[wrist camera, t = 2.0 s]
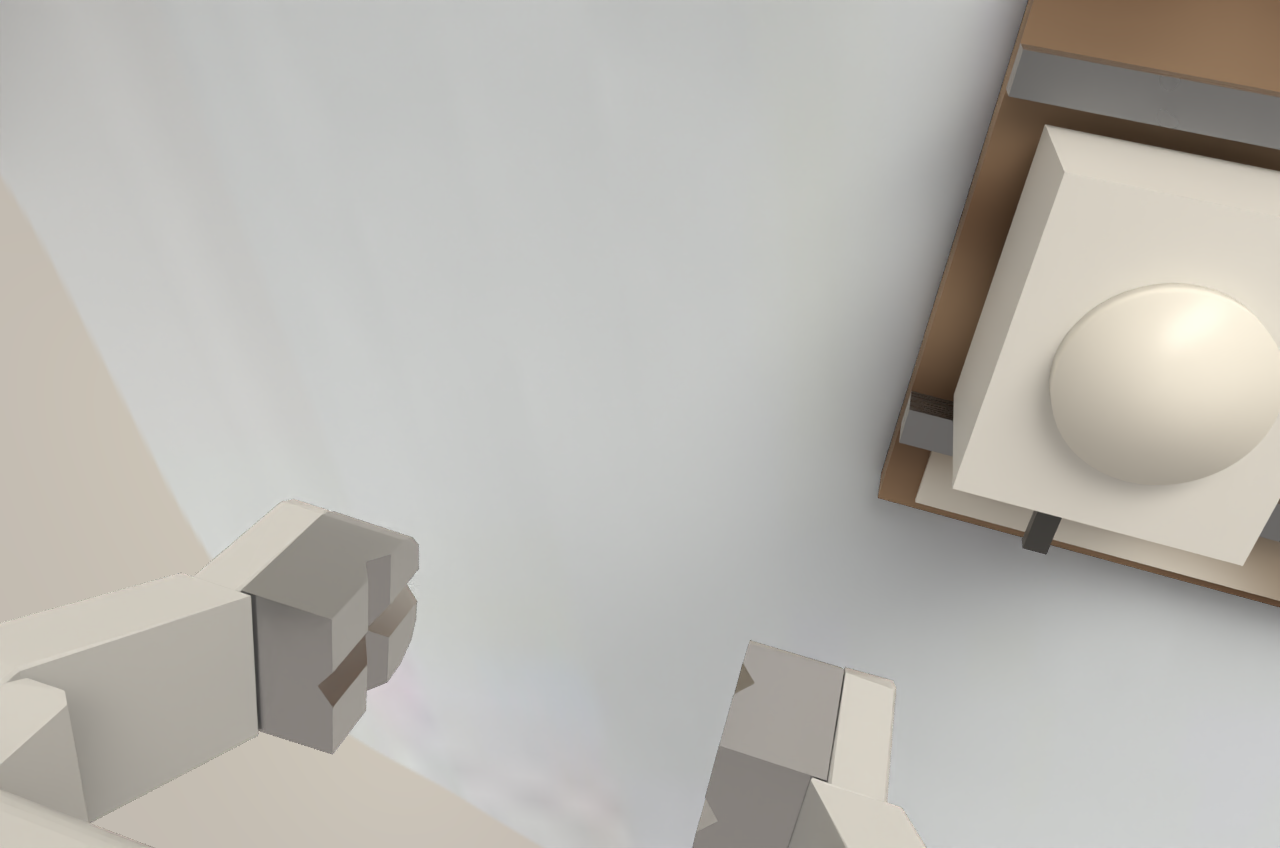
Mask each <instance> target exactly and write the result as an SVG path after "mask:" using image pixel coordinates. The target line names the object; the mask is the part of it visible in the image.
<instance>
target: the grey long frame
mask: <svg viewBox="0 0 1280 848" xmlns="http://www.w3.org/2000/svg"><path fill="white" fill-rule="evenodd" d="M1006 90H1007V93H1008V96H1009V97H1014V98H1019V99H1024V100H1030V101H1035V102H1040V103H1045V104H1050V105H1055V106H1060V107H1065V108H1070V109H1075V110H1080V111H1085V112H1090V113H1096V114H1101V115H1106V116H1111V117H1116V118H1121V119H1126V120H1131V121H1136V122H1141V123H1146V124H1151V125H1156V126H1162V127H1167V128H1172V129H1177V130H1182V131H1187V132H1192V133H1197V134H1202V135H1207V136H1212V137H1217V138H1222V139H1228V140H1233V141H1238V142H1243V143H1248V144H1253V145H1258V146H1263V147H1268V148H1273V149H1278V150H1280V92H1277V91H1272V90H1266V89H1261V88H1256V87H1250V86H1245V85H1240V84H1234V83H1229V82H1224V81H1218V80H1213V79H1208V78H1202V77H1197V76H1192V75H1186V74H1181V73H1176V72H1170V71H1165V70H1160V69H1154V68H1149V67H1144V66H1138V65H1133V64H1128V63H1122V62H1117V61H1112V60H1106V59H1101V58H1096V57H1090V56H1085V55H1080V54H1074V53H1069V52H1064V51H1058V50H1053V49H1048V48H1042V47H1037V46H1032V45H1026V44H1021V43H1020V46H1019V49H1018V52H1017V56H1016V59H1015V62H1014V65H1013V68H1012V72H1011V75H1010V78H1009V81H1008V84H1007V87H1006ZM953 408H954V402H953V401H949V400H945V399H941V398H937V397H933V396H929V395H925V394H921V393H917V392H913V391H911V394H910V397H909V400H908V403H907V406H906V410H905V413H904V416H903V419H902V422H901V430H900V438H899V443H903V444H907V445H911V446H914V447H918V448H922V449H926V450H930V451H933V452H937V453H941V454H945V455H949V456H953ZM1259 537H1263V538H1266V539H1270V540H1274V541H1278V542H1280V499H1279V501H1278V503H1277V505H1276V506H1275V508H1274V510H1273V512H1272V514H1271V515H1270V517H1269V519H1268V521H1267V523H1266V525H1265V526H1264V528H1263V530H1262V532H1261V534H1260V536H1259Z"/></svg>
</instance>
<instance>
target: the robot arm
mask: <svg viewBox="0 0 1280 848" xmlns="http://www.w3.org/2000/svg"><path fill="white" fill-rule="evenodd" d="M418 569H419V544H418V543H417V542H416V541H415V539H414V538H413V537H410V536H407V535H404V534H401V533H398V532H395V531H392V530H389V529H386V528H383V527H380V526H377V525H374V524H371V523H368V522H365V521H362V520H359V519H356V518H353V517H350V516H347V515H344V514H341V513H338V512H335V511H333V512H331V511H329V510H327V509H323V508H320V507H317V506H314V505H311V504H308V503H305V502H302V501H299V500H296V499H291V500H286V501H282V502H280V503H279V504H278V505H277V506H275V507H274V508H273V509H272V510H271V511H269V512H268V513H267V514H266V515H265V516H264V517H262V518H261V519H260V520H259V521H258V522H257V523H255V524H254V525H253V526H252V527H251V528H249V529H248V530H247V531H246V532H245V533H244V534H242V535H241V536H240V537H239V538H238V539H237V540H235V541H234V542H233V543H232V544H231V545H230V546H228V547H227V548H226V549H225V550H224V551H222V552H221V553H220V554H219V555H218V556H217V557H215V558H214V559H213V560H212V561H211V562H210V563H208V564H207V565H206V566H205V567H204V568H202V569H201V570H200V571H199V572H198V573H197V574H195V575H194V576H189V575H186V574H183V573H178V574H175V575H171V576H168V577H164V578H160V579H156V580H153V581H150V582H146V583H142V584H139V585H135V586H132V587H128V588H124V589H121V590H117V591H113V592H110V593H106V594H103V595H99V596H95V597H92V598H88V599H85V600H81V601H78V602H74V603H70V604H67V605H63V606H60V607H56V608H52V609H49V610H45V611H42V612H38V613H34V614H31V615H27V616H24V617H20V618H17V619H13V620H9V621H6V622H3V623H0V848H153V847H151V846H148V845H146V844H143V843H140V842H138V841H135V840H133V839H130V838H127V837H125V836H122V835H119V834H117V833H114V832H112V831H109V830H106V829H104V828H101V827H99V826H96V825H93V824H91V822H93V821H95V820H97V819H99V818H101V817H103V816H105V815H107V814H108V813H110V812H112V811H114V810H116V809H118V808H120V807H122V806H124V805H126V804H128V803H130V802H132V801H134V800H135V799H137V798H139V797H141V796H143V795H145V794H147V793H149V792H151V791H153V790H154V789H157V788H159V787H160V786H162V785H164V784H166V783H168V782H170V781H172V780H174V779H175V778H178V777H180V776H182V775H183V774H185V773H187V772H189V771H191V770H193V769H195V768H197V767H199V766H201V765H203V764H205V763H206V762H208V761H210V760H212V759H214V758H216V757H218V756H220V755H222V754H224V753H226V752H228V751H230V750H231V749H233V748H235V747H237V746H239V745H241V744H243V743H245V742H247V741H249V740H251V739H253V738H255V737H256V736H258V734H259V733H258V731H261V732H264V733H267V734H270V735H273V736H277V737H279V738H283V739H286V740H289V741H292V742H295V743H298V744H301V745H305V746H308V747H311V748H314V749H317V750H320V751H323V752H327V753H330V754H333V753H334V752H335V751H336V749H337V748H338V747H339V746H340V744H341V743H342V742H343V740H344V739H345V738H346V736H347V735H348V734H349V732H350V731H351V730H352V729H353V727H354V726H355V725H356V723H357V722H358V721H359V719H360V718H361V717H362V715H363V714H364V713H365V711H366V697H367V690H370V689H372V688H375V687H377V686H380V685H382V684H384V683H387V682H388V681H389V679H390V678H391V676H392V675H393V674H394V672H395V671H396V669H397V668H398V667H399V665H400V664H401V662H402V659H403V657H404V655H405V653H406V650H407V648H408V646H409V644H410V642H411V639H412V635H413V630H414V626H415V622H416V612H417V600H416V599H415V597H414V595H413V594H412V592H411V590H410V589H409V587H408V585H407V583H408V582H409V581H410V579H411V578H412V577H413V576H414V574H415V573H416V572H417V571H418ZM895 697H896V686H895V684H894V682H893V680H889V679H886V678H882V677H879V676H875V675H871V674H868V673H864V672H861V671H857V670H854V669H850V668H846V667H845V668H844V669H843V668H842V667H838V666H835V665H832V664H828V663H825V662H822V661H818V660H815V659H812V658H808V657H805V656H801V655H798V654H795V653H791V652H788V651H785V650H781V649H778V648H775V647H771V646H768V645H765V644H761V643H758V642H755V641H751V640H750V641H749V644H748V647H747V651H746V654H745V657H744V660H743V664H742V667H741V671H740V675H739V678H738V682H737V686H736V690H735V693H734V695H733V698H732V701H731V705H730V709H729V712H728V716H727V719H726V723H725V726H724V730H723V733H722V737H721V740H720V744H719V747H718V751H717V755H716V759H715V762H714V766H713V770H712V774H711V777H710V781H709V785H708V788H707V792H706V796H705V798H706V799H705V802H704V806H703V809H702V813H701V816H700V820H699V824H698V827H697V831H696V835H695V839H694V843H693V847H692V848H927V847H926V846H925V844H924V843H923V841H922V839H921V838H920V836H919V834H918V833H917V831H916V830H915V828H914V826H913V825H912V823H911V821H910V820H909V818H908V816H907V815H906V813H905V812H904V810H903V808H901V807H899V806H896V805H893V804H890V803H887V797H888V784H889V772H890V759H891V747H892V734H893V722H894V709H895Z"/></svg>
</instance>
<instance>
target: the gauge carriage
mask: <svg viewBox="0 0 1280 848" xmlns="http://www.w3.org/2000/svg"><path fill="white" fill-rule="evenodd" d="M952 489H956V490H960V491H964V492H967V493H971V494H975V495H979V496H982V497H986V498H990V499H994V500H997V501H1001V502H1005V503H1009V504H1012V505H1016V506H1020V507H1024V508H1027V509H1031V510H1034V511H1033V514H1032V516H1031V519H1030V521H1029V523H1028V526H1027V528H1026V531H1025V533H1024V536H1023V538H1022V546H1023V548H1024V549H1028V550H1032V551H1035V552H1039V553H1043V554H1047V552H1048V549H1049V547H1050V545H1051V542H1052V540H1053V538H1054V535H1055V533H1056V531H1057V528H1058V526H1059V524H1060V521H1061V519H1062V518H1065V519H1068V520H1072V521H1076V522H1080V523H1083V524H1087V525H1091V526H1095V527H1098V528H1102V529H1106V530H1110V531H1113V532H1117V533H1121V534H1125V535H1128V536H1132V537H1136V538H1140V539H1143V540H1147V541H1151V542H1155V543H1158V544H1162V545H1166V546H1170V547H1173V548H1177V549H1181V550H1185V551H1188V552H1192V553H1196V554H1200V555H1203V556H1207V557H1211V558H1215V559H1218V560H1222V561H1226V562H1230V563H1233V564H1237V565H1241V566H1243V565H1244V563H1245V561H1246V559H1247V557H1248V556H1249V554H1250V552H1251V550H1252V548H1253V547H1254V545H1255V543H1256V541H1257V539H1258V537H1259V536H1260V534H1261V532H1262V530H1263V528H1264V526H1265V525H1266V523H1267V521H1268V519H1269V517H1270V515H1271V514H1272V512H1273V510H1274V508H1275V506H1276V505H1277V503H1278V501H1279V499H1280V171H1276V170H1271V169H1266V168H1261V167H1256V166H1251V165H1246V164H1241V163H1236V162H1231V161H1226V160H1221V159H1216V158H1211V157H1206V156H1201V155H1196V154H1191V153H1186V152H1181V151H1176V150H1171V149H1166V148H1161V147H1156V146H1151V145H1146V144H1141V143H1136V142H1131V141H1126V140H1121V139H1116V138H1111V137H1106V136H1101V135H1096V134H1091V133H1086V132H1081V131H1076V130H1071V129H1066V128H1061V127H1056V126H1051V125H1046V124H1045V126H1044V129H1043V132H1042V135H1041V138H1040V141H1039V143H1038V146H1037V149H1036V152H1035V155H1034V158H1033V161H1032V164H1031V167H1030V170H1029V173H1028V176H1027V179H1026V182H1025V185H1024V188H1023V191H1022V194H1021V197H1020V200H1019V203H1018V206H1017V209H1016V212H1015V215H1014V218H1013V220H1012V223H1011V226H1010V229H1009V232H1008V235H1007V238H1006V241H1005V244H1004V247H1003V250H1002V253H1001V256H1000V259H999V262H998V265H997V268H996V271H995V274H994V277H993V280H992V283H991V286H990V289H989V292H988V295H987V298H986V300H985V303H984V306H983V309H982V312H981V315H980V318H979V321H978V324H977V327H976V330H975V333H974V336H973V339H972V342H971V345H970V348H969V351H968V354H967V357H966V360H965V363H964V366H963V369H962V372H961V375H960V378H959V380H958V383H957V386H956V389H955V392H954V408H953V480H952Z"/></svg>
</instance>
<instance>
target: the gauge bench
mask: <svg viewBox="0 0 1280 848" xmlns="http://www.w3.org/2000/svg"><path fill="white" fill-rule="evenodd" d="M1020 43H1021V44H1026V45H1032V46H1037V47H1042V48H1048V49H1053V50H1058V51H1064V52H1069V53H1074V54H1080V55H1085V56H1090V57H1096V58H1101V59H1106V60H1112V61H1117V62H1122V63H1128V64H1133V65H1138V66H1144V67H1149V68H1154V69H1160V70H1165V71H1170V72H1176V73H1181V74H1186V75H1192V76H1197V77H1202V78H1208V79H1213V80H1218V81H1224V82H1229V83H1234V84H1240V85H1245V86H1250V87H1256V88H1261V89H1266V90H1272V91H1277V92H1280V0H1028V3H1027V6H1026V10H1025V13H1024V16H1023V19H1022V23H1021V26H1020V29H1019V32H1018V35H1017V39H1016V42H1015V45H1014V48H1013V51H1012V55H1011V58H1010V61H1009V64H1008V68H1007V71H1006V74H1005V77H1004V80H1003V84H1002V87H1001V90H1000V93H999V96H998V100H997V103H996V106H995V109H994V113H993V116H992V119H991V122H990V125H989V129H988V132H987V135H986V138H985V141H984V145H983V148H982V151H981V154H980V158H979V161H978V164H977V167H976V170H975V174H974V177H973V180H972V183H971V186H970V190H969V193H968V196H967V199H966V203H965V206H964V209H963V212H962V215H961V219H960V222H959V225H958V228H957V231H956V235H955V238H954V241H953V244H952V248H951V251H950V254H949V257H948V260H947V264H946V267H945V270H944V273H943V276H942V280H941V283H940V286H939V289H938V293H937V296H936V299H935V302H934V305H933V309H932V312H931V315H930V318H929V321H928V325H927V328H926V331H925V334H924V338H923V341H922V344H921V347H920V350H919V354H918V357H917V360H916V363H915V366H914V370H913V373H912V376H911V379H910V383H909V386H908V389H907V392H906V395H905V399H904V402H903V405H902V408H901V411H900V415H899V418H898V421H897V424H896V427H895V431H894V434H893V437H892V440H891V444H890V447H889V450H888V453H887V456H886V460H885V463H884V466H883V469H882V472H881V479H880V486H879V493H878V498H880V499H884V500H887V501H891V502H895V503H898V504H902V505H906V506H909V507H913V508H917V509H920V510H924V511H928V512H931V513H935V514H939V515H942V516H946V517H950V518H953V519H957V520H961V521H964V522H968V523H972V524H976V525H979V526H983V527H987V528H990V529H994V530H998V531H1001V532H1005V533H1009V534H1012V535H1016V536H1020V537H1023V536H1024V533H1025V531H1026V528H1027V526H1028V523H1029V521H1030V519H1031V516H1032V514H1033V511H1034V510H1031V509H1027V508H1024V507H1020V506H1016V505H1012V504H1009V503H1005V502H1001V501H997V500H994V499H990V498H986V497H982V496H979V495H975V494H971V493H967V492H964V491H960V490H956V489H952V480H953V456H949V455H945V454H941V453H937V452H933V451H930V450H926V449H922V448H918V447H914V446H911V445H907V444H903V443H899V438H900V430H901V422H902V419H903V416H904V413H905V410H906V406H907V403H908V400H909V397H910V394H911V391H913V392H917V393H921V394H925V395H929V396H933V397H937V398H941V399H945V400H949V401H953V402H954V392H955V389H956V386H957V383H958V380H959V378H960V375H961V372H962V369H963V366H964V363H965V360H966V357H967V354H968V351H969V348H970V345H971V342H972V339H973V336H974V333H975V330H976V327H977V324H978V321H979V318H980V315H981V312H982V309H983V306H984V303H985V300H986V298H987V295H988V292H989V289H990V286H991V283H992V280H993V277H994V274H995V271H996V268H997V265H998V262H999V259H1000V256H1001V253H1002V250H1003V247H1004V244H1005V241H1006V238H1007V235H1008V232H1009V229H1010V226H1011V223H1012V220H1013V218H1014V215H1015V212H1016V209H1017V206H1018V203H1019V200H1020V197H1021V194H1022V191H1023V188H1024V185H1025V182H1026V179H1027V176H1028V173H1029V170H1030V167H1031V164H1032V161H1033V158H1034V155H1035V152H1036V149H1037V146H1038V143H1039V141H1040V138H1041V135H1042V132H1043V129H1044V126H1045V124H1046V125H1051V126H1056V127H1061V128H1066V129H1071V130H1076V131H1081V132H1086V133H1091V134H1096V135H1101V136H1106V137H1111V138H1116V139H1121V140H1126V141H1131V142H1136V143H1141V144H1146V145H1151V146H1156V147H1161V148H1166V149H1171V150H1176V151H1181V152H1186V153H1191V154H1196V155H1201V156H1206V157H1211V158H1216V159H1221V160H1226V161H1231V162H1236V163H1241V164H1246V165H1251V166H1256V167H1261V168H1266V169H1271V170H1276V171H1280V150H1278V149H1273V148H1268V147H1263V146H1258V145H1253V144H1248V143H1243V142H1238V141H1233V140H1228V139H1222V138H1217V137H1212V136H1207V135H1202V134H1197V133H1192V132H1187V131H1182V130H1177V129H1172V128H1167V127H1162V126H1156V125H1151V124H1146V123H1141V122H1136V121H1131V120H1126V119H1121V118H1116V117H1111V116H1106V115H1101V114H1096V113H1090V112H1085V111H1080V110H1075V109H1070V108H1065V107H1060V106H1055V105H1050V104H1045V103H1040V102H1035V101H1030V100H1024V99H1019V98H1014V97H1009V96H1008V93H1007V90H1006V87H1007V84H1008V81H1009V78H1010V75H1011V72H1012V68H1013V65H1014V62H1015V59H1016V56H1017V52H1018V49H1019V46H1020ZM1051 545H1053V546H1056V547H1060V548H1064V549H1067V550H1071V551H1075V552H1078V553H1082V554H1086V555H1090V556H1093V557H1097V558H1101V559H1104V560H1108V561H1112V562H1115V563H1119V564H1123V565H1126V566H1130V567H1134V568H1137V569H1141V570H1145V571H1148V572H1152V573H1156V574H1159V575H1163V576H1167V577H1170V578H1174V579H1178V580H1181V581H1185V582H1189V583H1192V584H1196V585H1200V586H1203V587H1207V588H1211V589H1215V590H1218V591H1222V592H1226V593H1229V594H1233V595H1237V596H1240V597H1244V598H1248V599H1251V600H1255V601H1259V602H1262V603H1266V604H1270V605H1273V606H1277V607H1280V542H1278V541H1274V540H1270V539H1266V538H1263V537H1258V539H1257V541H1256V543H1255V545H1254V547H1253V548H1252V550H1251V552H1250V554H1249V556H1248V557H1247V559H1246V561H1245V563H1244V565H1243V566H1241V565H1237V564H1233V563H1230V562H1226V561H1222V560H1218V559H1215V558H1211V557H1207V556H1203V555H1200V554H1196V553H1192V552H1188V551H1185V550H1181V549H1177V548H1173V547H1170V546H1166V545H1162V544H1158V543H1155V542H1151V541H1147V540H1143V539H1140V538H1136V537H1132V536H1128V535H1125V534H1121V533H1117V532H1113V531H1110V530H1106V529H1102V528H1098V527H1095V526H1091V525H1087V524H1083V523H1080V522H1076V521H1072V520H1068V519H1065V518H1062V519H1061V521H1060V524H1059V526H1058V528H1057V531H1056V533H1055V535H1054V538H1053V540H1052V542H1051Z"/></svg>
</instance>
